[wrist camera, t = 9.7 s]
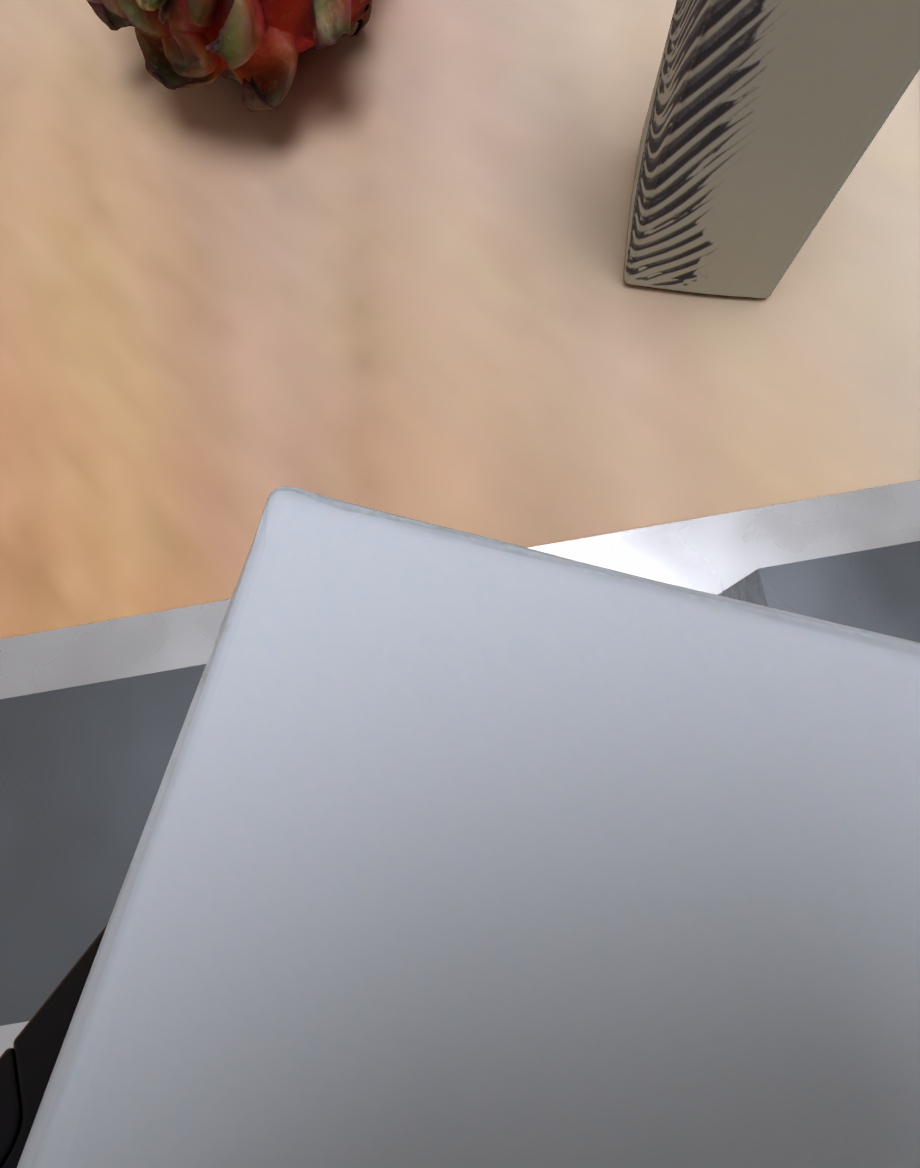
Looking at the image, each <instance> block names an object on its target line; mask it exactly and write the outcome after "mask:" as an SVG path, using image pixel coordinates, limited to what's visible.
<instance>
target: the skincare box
mask: <svg viewBox="0 0 920 1168" xmlns="http://www.w3.org/2000/svg"><path fill="white" fill-rule="evenodd" d="M17 1168H920V643H918V642H914V641H910V640H906V639H902V638H898V637H894V636H889V635H885V634H881V633H877V632H872V631H868V630H864V629H860V628H855V627H851V626H847V625H843V624H838V623H834V622H830V621H826V620H821V619H817V618H813V617H809V616H804V615H800V614H796V613H792V612H787V611H783V610H779V609H775V608H770V607H766V606H762V605H758V604H753V603H749V602H745V601H741V600H736V599H732V598H728V597H723V596H719V595H715V594H711V593H706V592H702V591H698V590H694V589H689V588H685V587H681V586H677V585H672V584H668V583H664V582H660V581H656V580H652V579H648V578H644V577H640V576H636V575H632V574H628V573H624V572H620V571H616V570H612V569H608V568H604V567H600V566H596V565H592V564H588V563H584V562H580V561H575V560H572V559H568V558H564V557H560V556H556V555H552V554H548V553H545V552H541V551H537V550H533V549H529V548H525V547H521V546H518V545H514V544H510V543H506V542H502V541H498V540H494V539H491V538H487V537H483V536H479V535H475V534H471V533H466V532H462V531H458V530H454V529H450V528H446V527H442V526H438V525H434V524H430V523H425V522H421V521H417V520H413V519H409V518H405V517H401V516H397V515H394V514H390V513H386V512H382V511H378V510H374V509H370V508H367V507H363V506H359V505H355V504H351V503H347V502H343V501H340V500H336V499H332V498H329V497H325V496H322V495H319V494H315V493H312V492H309V491H305V490H302V489H298V488H294V487H285V486H280V487H278V488H277V489H276V490H274V491H273V492H271V494H270V496H269V497H268V499H267V502H266V505H265V508H264V511H263V514H262V517H261V520H260V523H259V526H258V529H257V532H256V535H255V538H254V540H253V543H252V546H251V548H250V551H249V554H248V556H247V559H246V561H245V564H244V567H243V569H242V572H241V574H240V577H239V580H238V582H237V585H236V587H235V590H234V593H233V595H232V598H231V601H230V603H229V606H228V608H227V611H226V614H225V616H224V619H223V621H222V624H221V627H220V629H219V632H218V635H217V637H216V640H215V642H214V645H213V648H212V650H211V653H210V656H209V658H208V661H207V663H206V666H205V669H204V671H203V674H202V677H201V679H200V682H199V684H198V687H197V690H196V692H195V695H194V698H193V700H192V703H191V705H190V708H189V711H188V713H187V716H186V719H185V721H184V724H183V726H182V729H181V732H180V734H179V737H178V740H177V742H176V745H175V747H174V750H173V753H172V755H171V758H170V761H169V763H168V766H167V769H166V771H165V774H164V777H163V779H162V782H161V785H160V787H159V790H158V793H157V795H156V798H155V801H154V803H153V806H152V809H151V811H150V814H149V817H148V819H147V822H146V825H145V827H144V830H143V833H142V835H141V838H140V841H139V843H138V846H137V849H136V851H135V854H134V857H133V859H132V862H131V864H130V867H129V870H128V872H127V875H126V877H125V880H124V883H123V885H122V888H121V891H120V893H119V896H118V898H117V901H116V904H115V906H114V909H113V912H112V914H111V917H110V919H109V922H108V925H107V927H106V930H105V932H104V935H103V938H102V940H101V943H100V946H99V948H98V951H97V954H96V956H95V959H94V962H93V964H92V967H91V970H90V973H89V975H88V978H87V981H86V983H85V986H84V989H83V991H82V994H81V997H80V999H79V1002H78V1005H77V1007H76V1010H75V1013H74V1015H73V1018H72V1021H71V1023H70V1026H69V1029H68V1031H67V1034H66V1037H65V1039H64V1042H63V1045H62V1047H61V1050H60V1053H59V1056H58V1058H57V1061H56V1064H55V1066H54V1069H53V1072H52V1074H51V1077H50V1080H49V1082H48V1085H47V1088H46V1090H45V1093H44V1096H43V1098H42V1101H41V1104H40V1106H39V1109H38V1112H37V1114H36V1117H35V1120H34V1123H33V1125H32V1128H31V1131H30V1133H29V1136H28V1139H27V1141H26V1144H25V1147H24V1149H23V1152H22V1155H21V1158H20V1160H19V1163H18V1166H17Z"/></svg>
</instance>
